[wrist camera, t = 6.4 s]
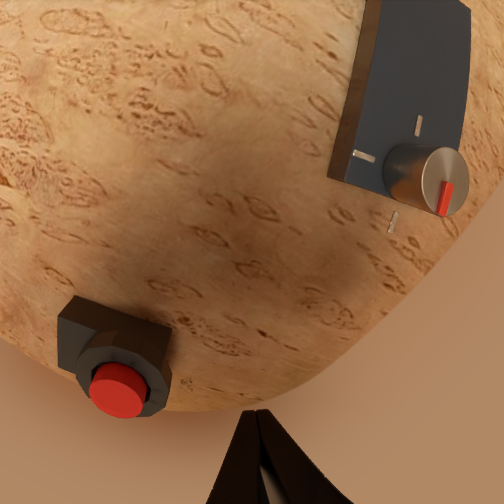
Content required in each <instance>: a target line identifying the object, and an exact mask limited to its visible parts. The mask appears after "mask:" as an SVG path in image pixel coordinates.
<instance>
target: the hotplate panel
mask: <svg viewBox="0 0 504 504" xmlns="http://www.w3.org/2000/svg"><path fill="white" fill-rule="evenodd" d="M470 52H471V10H470V9H469V8H468V7H467V6H465V5H464V4H463V3H461V2H460V1H459V0H367V1H366V6H365V12H364V17H363V23H362V28H361V33H360V38H359V43H358V48H357V53H356V58H355V62H354V67H353V72H352V76H351V81H350V85H349V90H348V94H347V98H346V102H345V107H344V111H343V115H342V119H341V123H340V127H339V131H338V135H337V139H336V143H335V147H334V151H333V155H332V159H331V162H330V166H329V170H328V174H327V177H328V178H331V179H335V180H338V181H341V182H344V183H347V184H350V185H354V186H357V187H360V188H363V189H366V190H369V191H372V192H375V193H377V194H380V195H383V196H386V197H389V198H392V199H394V200H397V199H395V198H394V197H393V196H392V195H391V194H390V193H389V192H388V190H387V188H386V186H385V183H384V178H383V167H384V163H385V160H386V158H387V156H388V154H389V153H390V152H391V151H392V150H393V149H394V148H395V147H397V146H399V145H404V144H408V145H429V146H444V147H450V148H453V149H455V150H456V151H457V152H458V149H459V144H460V139H461V133H462V127H463V121H464V115H465V108H466V100H467V91H468V81H469V69H470ZM397 201H399V200H397ZM400 202H401V201H400ZM403 203H404V202H403ZM405 204H407V203H405ZM408 205H410V204H408ZM411 206H412V205H411ZM413 207H415V206H413ZM416 208H418V207H416ZM418 209H421V208H418ZM421 210H423V209H421ZM424 211H426V210H424ZM426 212H429V211H426ZM429 213H431V212H429ZM398 214H399V212H396V211H393V214H392V217H391V221H390V224H389V227H388V230H387V232H388V233H391V234H392V233H393V230H394V227H395V224H396V221H397V218H398ZM432 214H434V213H432ZM434 215H437V214H434ZM437 216H439V217H442V216H440V215H437Z"/></svg>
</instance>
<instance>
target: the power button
mask: <svg viewBox="0 0 504 504" xmlns="http://www.w3.org/2000/svg"><path fill="white" fill-rule="evenodd" d="M146 392H147V385H146V382H145V380H144V378H143V377H142V376H141V375H140V374H139V373H138V372H137V371H136V370H135V369H133V368H131V367H129V366H127V365H125V364H122V363H117V362H109V363H105V364H103V365H101V366H100V367H99V368H98V370H97V372H96V374H95V376H94V378H93V380H92V383H91V385H90V387H89V394H90V397H91V399H92V401H93V402H94V404H95V405H96V406H97V407H98V408H99V409H101V410H102V411H104V412H105V413H107V414H109V415H112V416H114V417H118V418H133V417H136V416H137V415H139V414H140V413H141V411H142V409H143V405H144V401H145V396H146Z"/></svg>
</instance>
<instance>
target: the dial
mask: <svg viewBox="0 0 504 504" xmlns="http://www.w3.org/2000/svg"><path fill="white" fill-rule="evenodd" d="M383 178H384V183H385V186H386V188H387V190H388V192H389V193H390V194H391V195H392V196H393V197H394V198H395V199H397V200H399V201H401V202H404V203H407V204H410V205H412V206H415V207H418V208H421V209H423V210H426V211H429V212H431V213H434V214H437V215H440V216H443V217H446V216H449V215H452V214H454V213H455V212H457V211H458V210H459V209H460V208H461V206H462V205H463V203H464V202H465V200H466V197H467V194H468V190H469V172H468V168H467V165H466V162H465V160H464V159H463V157H462V156H461V154H460V153H459V152H457V151H456V150H455V149H453V148H450V147H444V146H429V145H408V144H404V145H399V146H397V147H395V148H394V149H393V150H392V151H391V152H390V153H389V154H388V156H387V158H386V160H385V163H384V167H383Z"/></svg>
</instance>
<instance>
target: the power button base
mask: <svg viewBox="0 0 504 504" xmlns="http://www.w3.org/2000/svg"><path fill="white" fill-rule="evenodd" d="M171 332H172V328H170V327H167V326H164V325H160V324H157V323H154V322H150V321H147V320H144V319H141V318H138V317H135V316H132V315H129V314H126V313H123V312H120V311H117V310H114V309H111V308H108V307H105V306H102V305H100V304H97V303H94V302H91V301H89V300H86V299H83V298H81V297H78V296H74V297H73V298H72V299H71V300H70V302H69V303H68V304H67V305H66V306H65V308H64V309H63V310H62V311H61V312H60V313H59V315H58V323H57V347H58V367H59V368H61V369H64V370H66V371H69V372H71V373H74V374H76V379H77V381H78V382H79V384H80V386H81V387H82V389H83V390H84V392H85V394H86V395H87V396H88V397H89V398H90V399H91V397H90V394H89V387H90V385H91V383H92V380H93V378H94V376H95V374H96V372H97V370H98V368H99V367H100V366H101V365H103V364H105V363H109V362H117V363H122V364H125V365H127V366H129V367H131V368H133V369H135V370H136V371H137V372H138V373H139V374H140V375H141V376H142V377H143V378H144V380H145V382H146V385H147V392H146V396H145V401H144V405H143V409H142V411H141V413H140V414H139V415H137V416H136V417H148V416H152V415H153V414H155V413H156V412H158V411H160V410H161V409H163V408H165V406H166V402H167V399H168V395H169V392H170V386H171V380H172V372H171V369H170V367H169V365H168V362H167V360H166V354H167V349H168V345H169V340H170V336H171Z"/></svg>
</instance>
